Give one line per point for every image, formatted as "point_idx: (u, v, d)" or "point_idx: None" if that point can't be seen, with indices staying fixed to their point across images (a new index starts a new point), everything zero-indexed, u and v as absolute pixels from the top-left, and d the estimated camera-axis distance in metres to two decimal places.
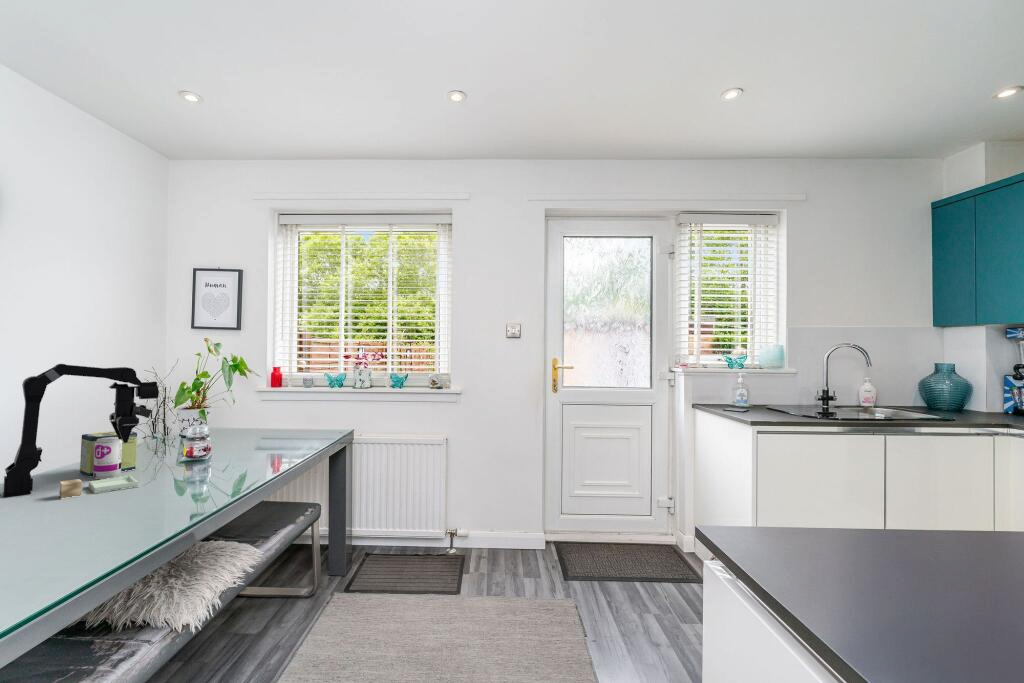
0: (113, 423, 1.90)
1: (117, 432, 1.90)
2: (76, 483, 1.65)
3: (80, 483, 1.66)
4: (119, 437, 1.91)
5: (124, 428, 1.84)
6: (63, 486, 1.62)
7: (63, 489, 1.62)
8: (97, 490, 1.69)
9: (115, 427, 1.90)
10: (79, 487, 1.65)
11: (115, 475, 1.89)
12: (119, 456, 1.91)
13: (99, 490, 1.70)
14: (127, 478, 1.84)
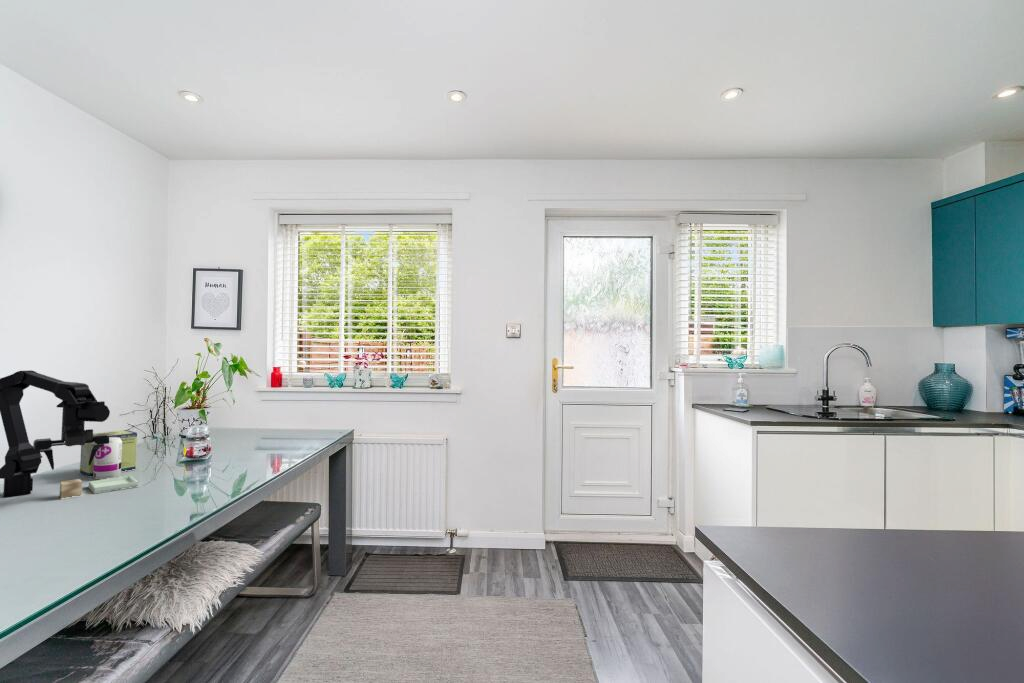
0: (90, 445, 1.71)
1: None
2: (76, 483, 1.65)
3: (80, 483, 1.66)
4: (88, 462, 1.69)
5: None
6: (63, 486, 1.62)
7: (63, 489, 1.62)
8: (97, 490, 1.69)
9: None
10: (79, 487, 1.65)
11: (115, 475, 1.89)
12: (119, 456, 1.91)
13: (99, 490, 1.70)
14: (127, 478, 1.84)
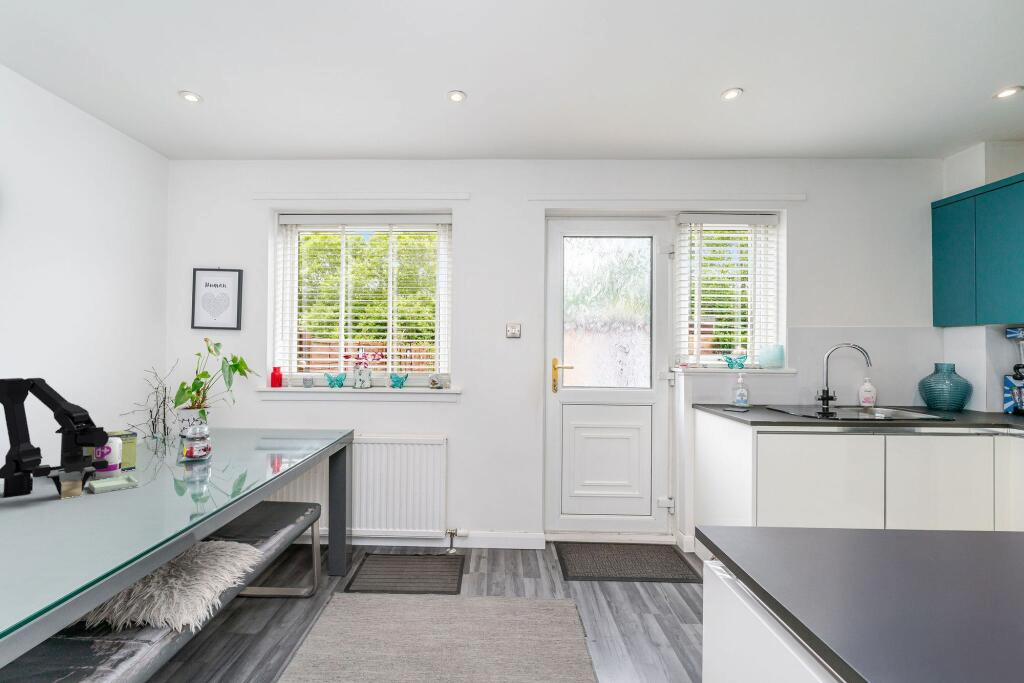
0: (82, 471, 1.70)
1: None
2: (76, 483, 1.65)
3: (80, 483, 1.66)
4: None
5: None
6: (63, 486, 1.62)
7: (63, 489, 1.62)
8: (97, 490, 1.69)
9: (81, 476, 1.69)
10: (79, 487, 1.65)
11: (115, 475, 1.89)
12: (119, 456, 1.91)
13: (99, 490, 1.70)
14: (127, 478, 1.84)
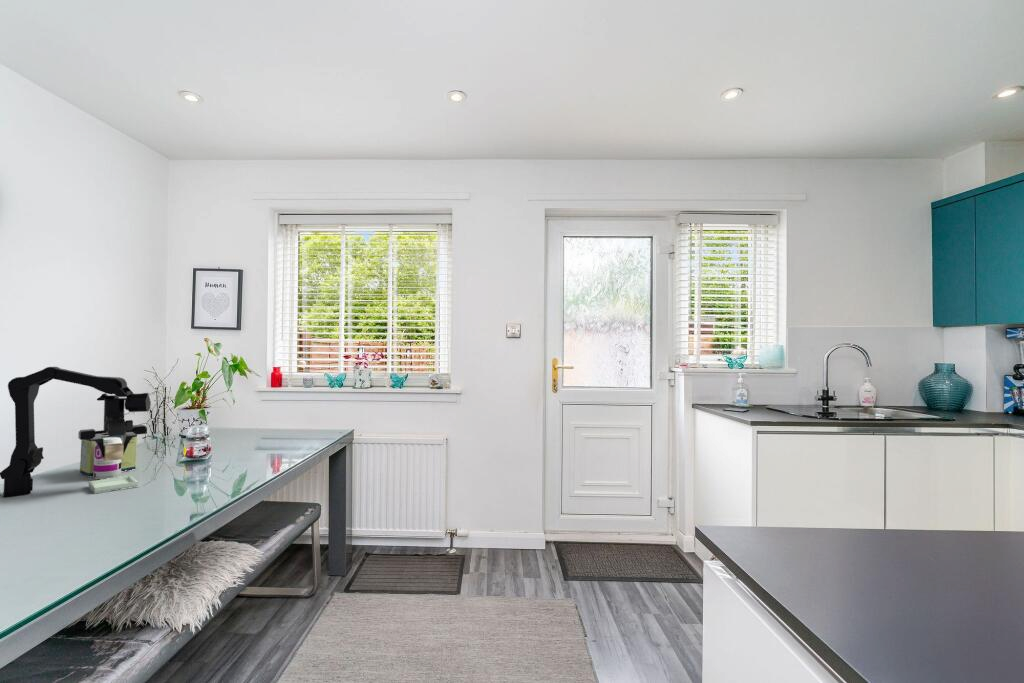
0: (123, 436, 1.81)
1: None
2: (118, 446, 1.76)
3: (122, 446, 1.77)
4: None
5: None
6: (107, 448, 1.74)
7: (107, 451, 1.74)
8: (97, 490, 1.69)
9: (122, 441, 1.80)
10: (121, 450, 1.76)
11: (115, 475, 1.89)
12: None
13: (99, 490, 1.70)
14: (127, 478, 1.84)
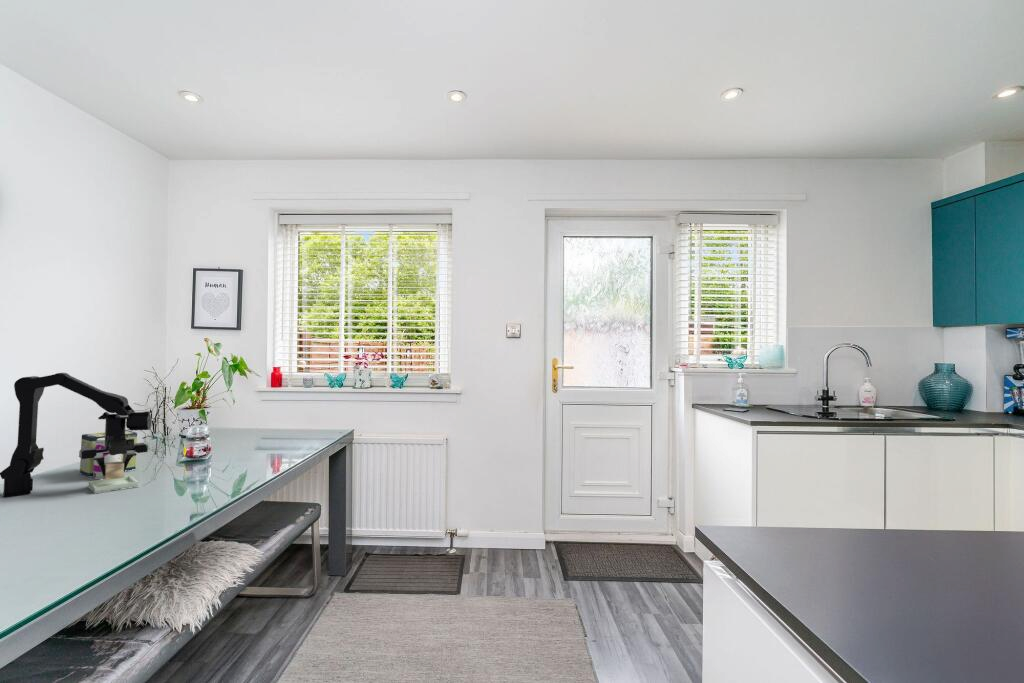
0: None
1: None
2: (119, 465, 1.76)
3: (122, 465, 1.77)
4: None
5: None
6: (107, 467, 1.74)
7: (107, 470, 1.74)
8: (97, 490, 1.69)
9: (123, 459, 1.81)
10: (122, 469, 1.77)
11: None
12: (119, 456, 1.91)
13: (99, 490, 1.70)
14: (127, 478, 1.84)
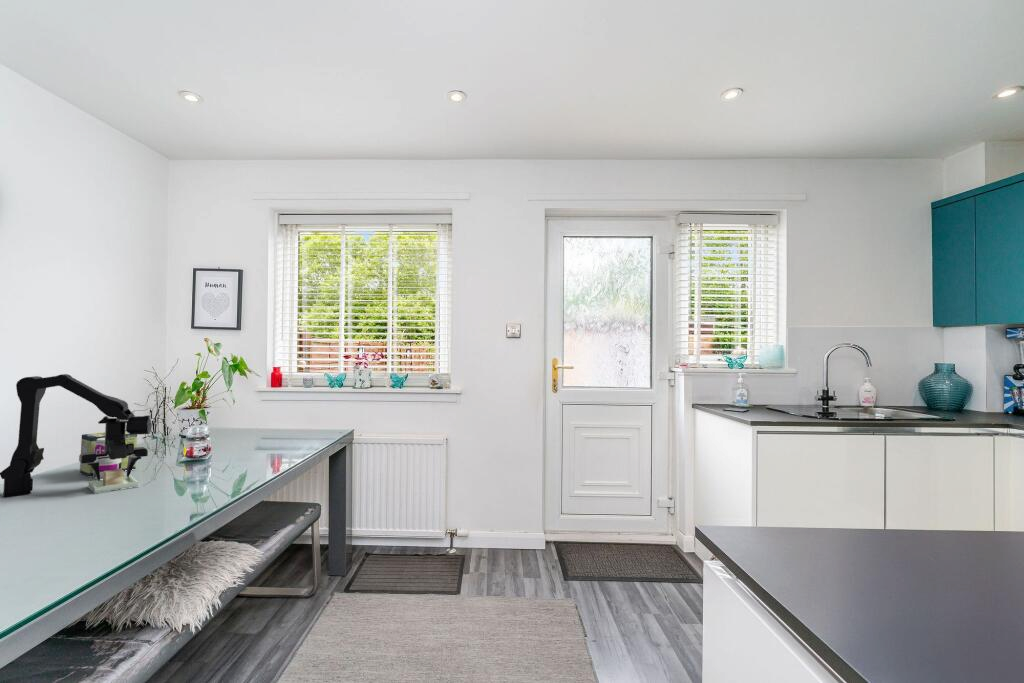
0: (128, 458, 1.82)
1: (127, 468, 1.81)
2: (119, 473, 1.76)
3: (122, 472, 1.77)
4: None
5: None
6: (107, 475, 1.74)
7: (107, 478, 1.74)
8: (97, 490, 1.69)
9: (128, 463, 1.82)
10: (121, 476, 1.77)
11: None
12: None
13: (99, 490, 1.70)
14: (127, 478, 1.84)
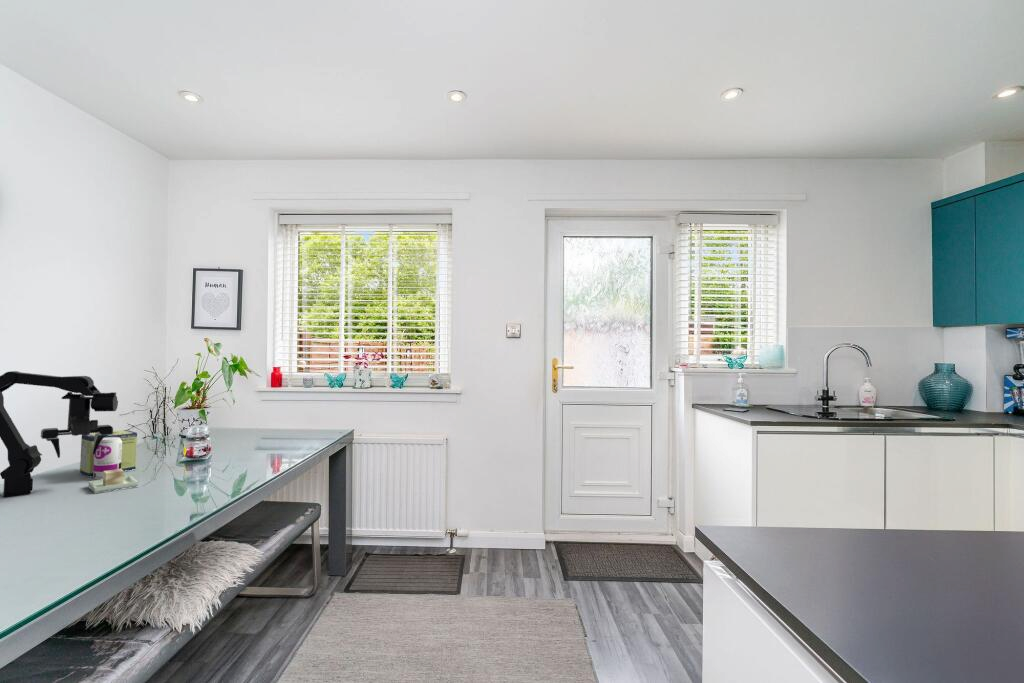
0: (95, 435, 1.79)
1: (93, 446, 1.78)
2: (119, 473, 1.76)
3: (122, 472, 1.77)
4: (92, 452, 1.77)
5: None
6: (107, 475, 1.74)
7: (107, 478, 1.74)
8: (97, 490, 1.69)
9: (94, 440, 1.78)
10: (121, 476, 1.77)
11: None
12: (119, 456, 1.91)
13: (99, 490, 1.70)
14: (127, 478, 1.84)
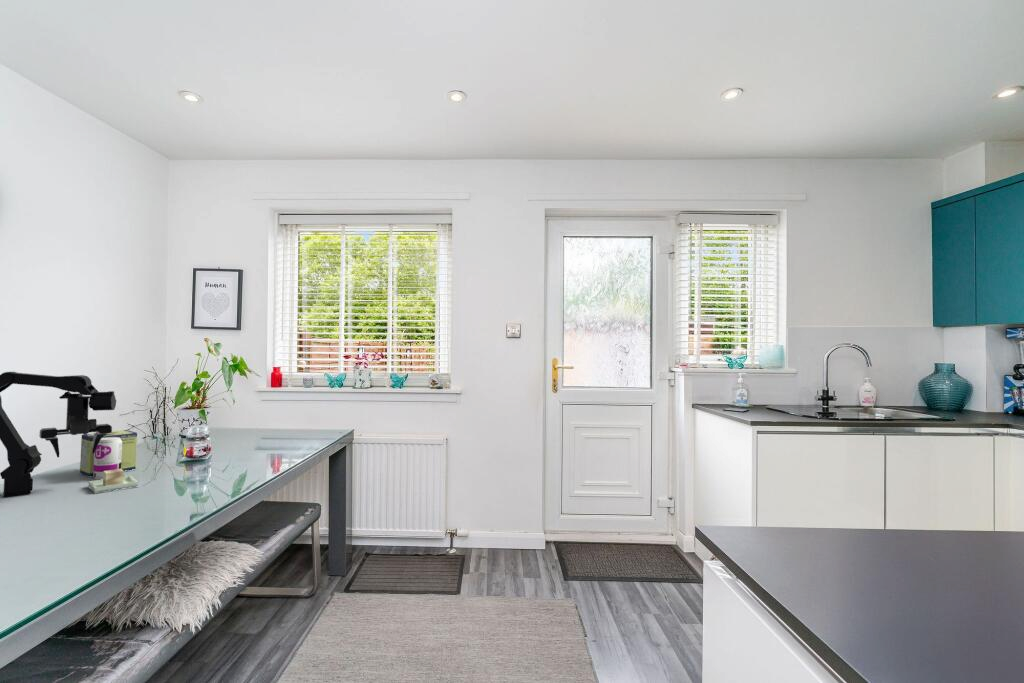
0: (94, 435, 1.79)
1: (92, 445, 1.78)
2: (119, 473, 1.76)
3: (122, 472, 1.77)
4: (92, 451, 1.77)
5: None
6: (107, 475, 1.74)
7: (107, 478, 1.74)
8: (97, 490, 1.69)
9: (93, 439, 1.78)
10: (121, 476, 1.77)
11: None
12: (119, 456, 1.91)
13: (99, 490, 1.70)
14: (127, 478, 1.84)
